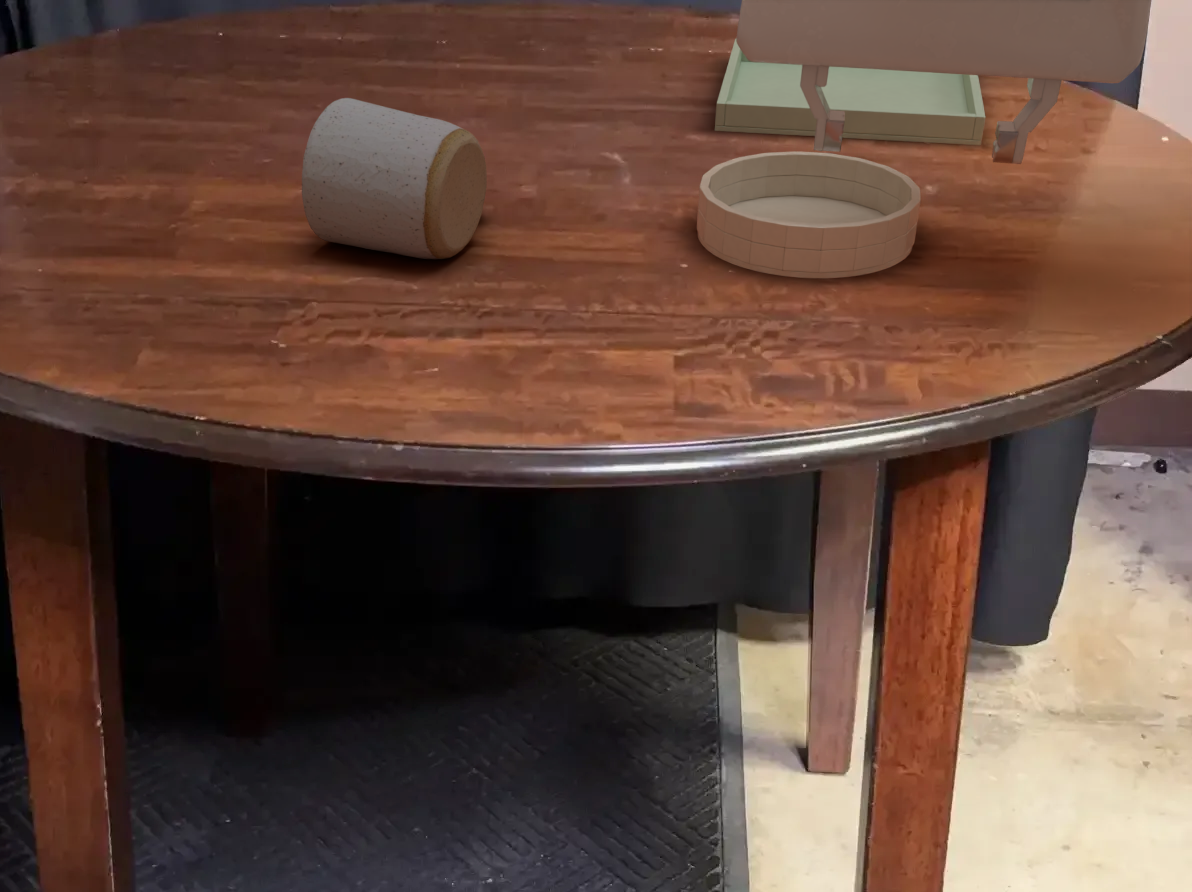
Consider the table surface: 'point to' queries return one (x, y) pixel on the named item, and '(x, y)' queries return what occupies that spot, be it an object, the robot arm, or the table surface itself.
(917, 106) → the tray
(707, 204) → the bowl
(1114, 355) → the table surface
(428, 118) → the ceramic mug
